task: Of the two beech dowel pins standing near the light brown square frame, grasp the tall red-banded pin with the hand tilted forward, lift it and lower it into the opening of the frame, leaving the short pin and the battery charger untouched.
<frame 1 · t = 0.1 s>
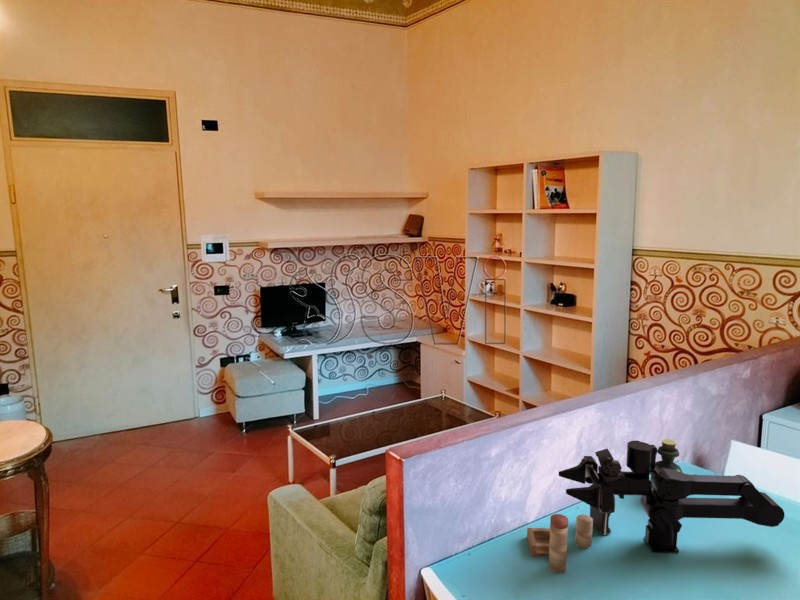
hand: (562, 482, 147), 17 cm above the table, tool horizontal, fingers open, 9 cm apart
light brown square frame: (544, 547, 148), on the table
long pin: (557, 568, 140), on the table
battery charger: (601, 528, 156), on the table
short pin: (583, 543, 149), on the table
potion bottle: (664, 500, 170), on the table
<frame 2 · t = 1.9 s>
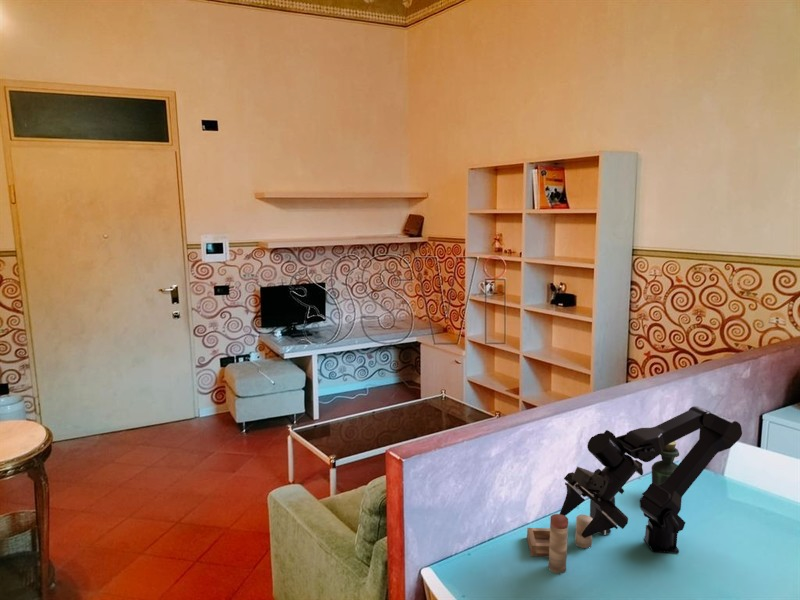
hand: (571, 525, 139), 10 cm above the table, tool tilted 45°, fingers open, 9 cm apart
nothing on the table moved.
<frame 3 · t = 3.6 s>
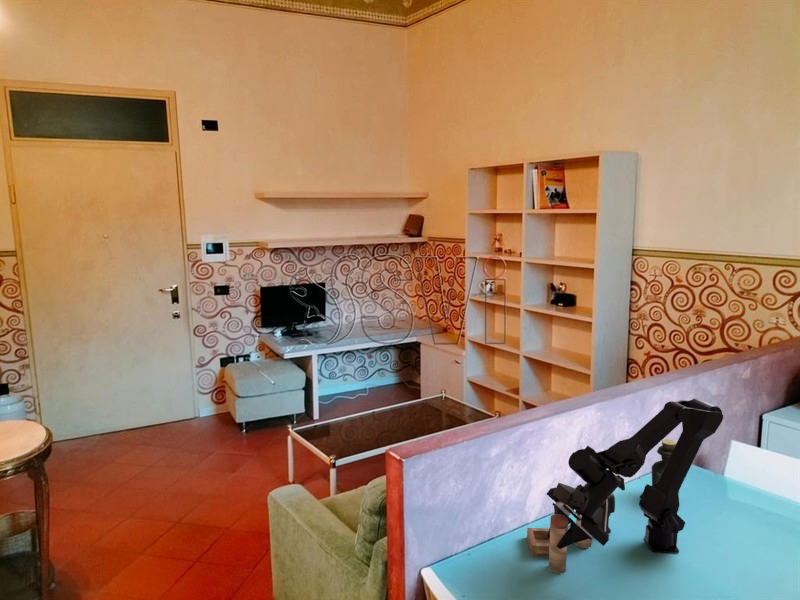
hand: (553, 542, 138), 7 cm above the table, tool tilted 45°, fingers closed on long pin, 4 cm apart
long pin: (557, 568, 140), on the table, touching gripper
everything else where it was.
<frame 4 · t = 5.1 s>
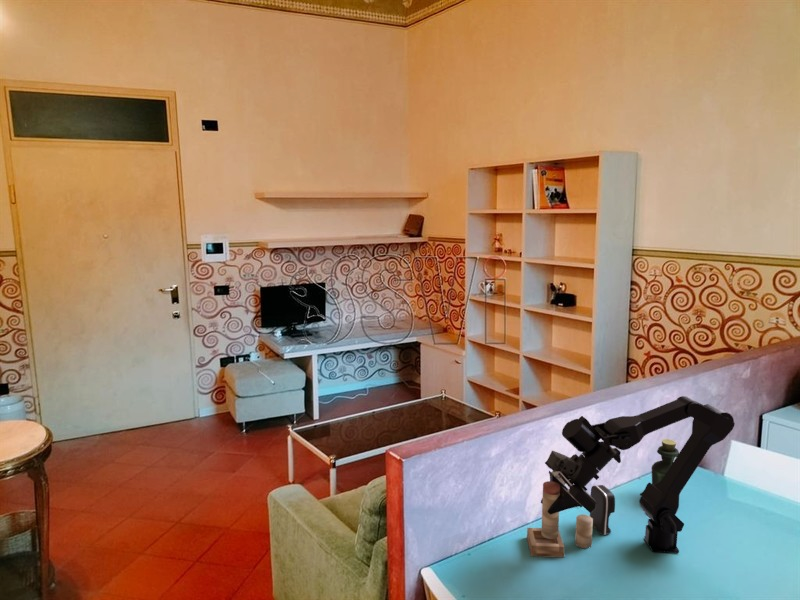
hand: (545, 508, 142), 13 cm above the table, tool tilted 45°, fingers closed on long pin, 4 cm apart
long pin: (549, 534, 143), point 6 cm above the table, touching gripper
everything else where it was.
when the fingers open (8 cm above the table, at t = 6.8 s): long pin stays where it is, resting on light brown square frame.
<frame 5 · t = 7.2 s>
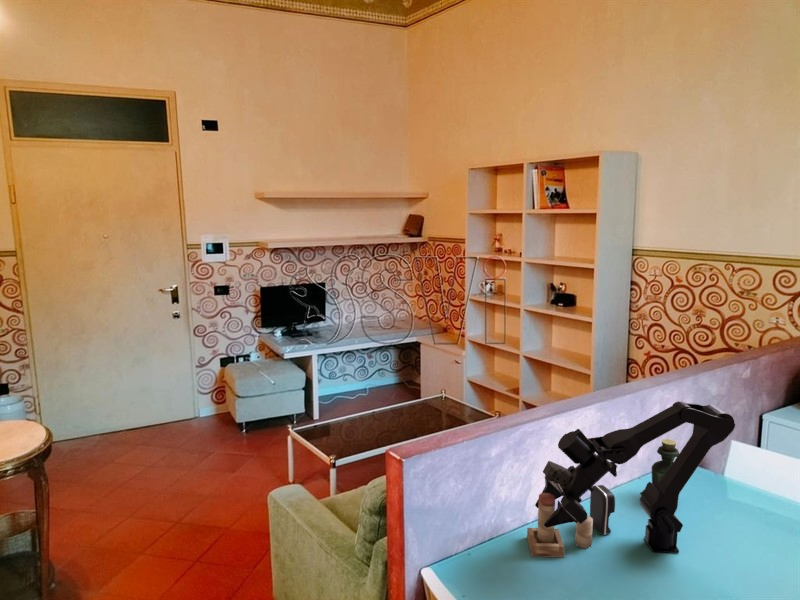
hand: (540, 516, 147), 9 cm above the table, tool tilted 45°, fingers open, 9 cm apart
long pin: (545, 544, 148), point 1 cm above the table, touching light brown square frame
everything else where it was.
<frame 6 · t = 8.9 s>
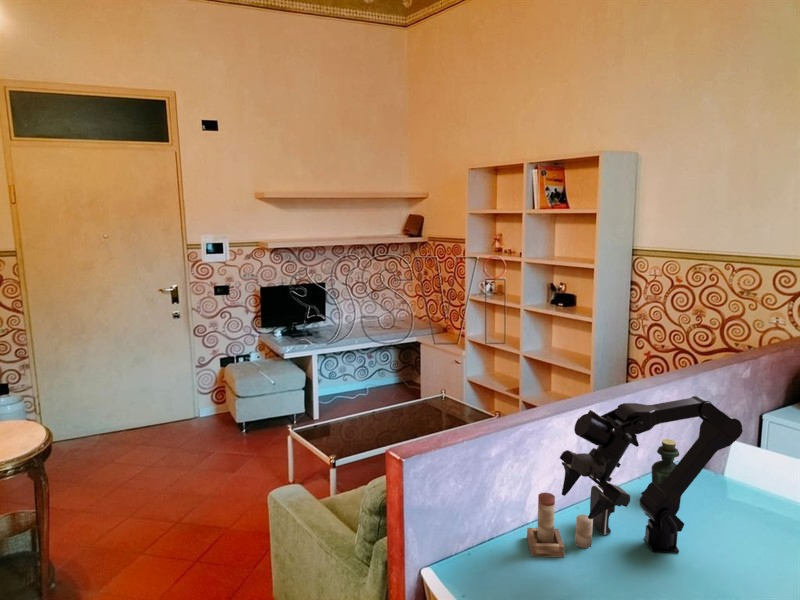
hand: (575, 506, 142), 13 cm above the table, tool tilted 30°, fingers open, 9 cm apart
nothing on the table moved.
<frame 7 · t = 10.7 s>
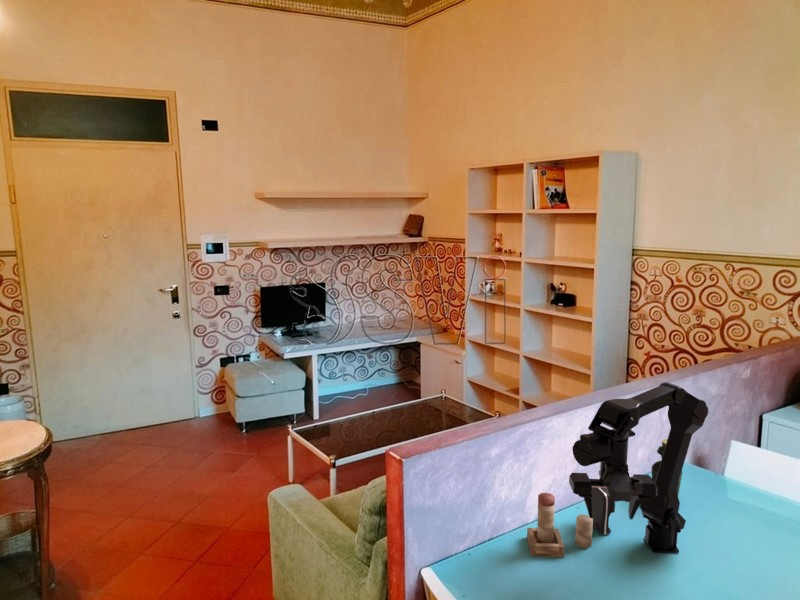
hand: (610, 517, 137), 13 cm above the table, tool pointing down, fingers open, 9 cm apart
nothing on the table moved.
at the end: long pin 0.0 cm off-centre on the light brown square frame, point 0.8 cm above the light brown square frame's base; long pin tilted 1°; the gripper is holding nothing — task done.
